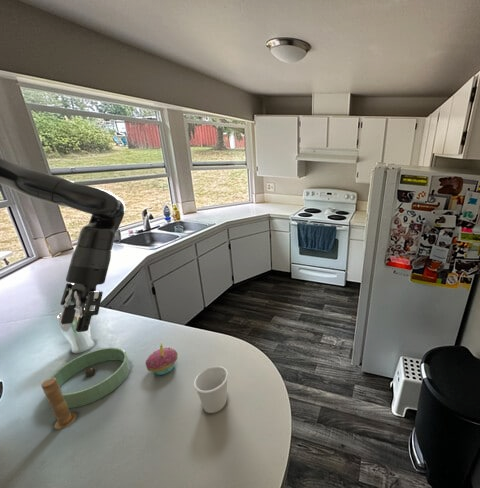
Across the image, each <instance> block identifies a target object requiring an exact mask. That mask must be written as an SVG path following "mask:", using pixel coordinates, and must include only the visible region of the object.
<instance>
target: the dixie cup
mask: <svg viewBox="0 0 480 488" xmlns="http://www.w3.org/2000/svg"><path fill="white" fill-rule="evenodd" d="M228 379H229V372H228V370H227V368H225V367H224V366H219V365H214V366H210V367H207V368H205V369H204V370H202V371H201V372H199V374H198V375H197V376H196V377H195V378H194V382H193V387H194V390H195V391H196V393H197V395H198V397H199V400H200V403H201V405H202V408H203V410H204V412H206V413H208V414H215V413H218V412H219V411H220V410H222V409H223V408H224V407H225V405H226V403H227V397H228V396H227V395H228V394H227V393H228Z"/></svg>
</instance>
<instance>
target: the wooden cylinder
mask: <svg viewBox="0 0 480 488" xmlns="http://www.w3.org/2000/svg"><path fill="white" fill-rule="evenodd" d="M50 378H51V377H50ZM50 378H48V379H46V380H45V381H43V382H42V383H41V384H40V387H41V389H42V391H43V393H44V396H45V397H46V400H47V402H48V404H49V406H50V408H51V410H52V413H53V415H54V416H55V419H56V422H55V424H54V429H55V430H59V429H60V430H61V429H65V428H66V427H68V426H70V425H71V424H72V423H74V421H75V420H76V419H77V413H75V412H71V411H70V408H68V406H67V404H66V402H65V399H64V397H63V395H62V390H61V387H60V388H59V385H58V383H57V381H56V379H55V378H51V379H50Z"/></svg>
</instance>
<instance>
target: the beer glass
mask: <svg viewBox="0 0 480 488" xmlns="http://www.w3.org/2000/svg"><path fill="white" fill-rule="evenodd" d="M74 309H76V312H75V316H74V320H73V322H72V323H70V324H62V323H61V319H62V315H63V312H64V310H63V311H61V312H59V314H57V316H56V319H57V323H58V326H59V329H60V331H61V334H62V335H63V336H64V338H65V339H66V340H67V342H68V343H69V345H70V348H71V353H72V354H81V353H84V352H86V351H89V350H90V349H92V348H93V347H94V346H95V341H94V340H93V338H92V335H91V323H90V324H89V328H88V330H87V331H84V332H77V331H76V327H77V323H78V319H79V317H80V314H79V309H77V308H74ZM84 310H85V308H84Z"/></svg>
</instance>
